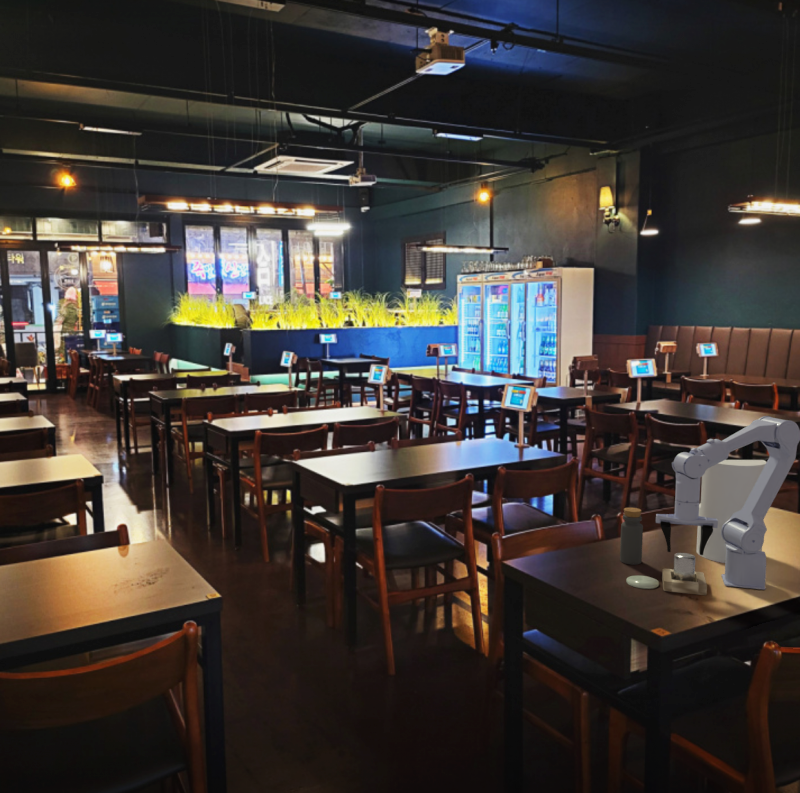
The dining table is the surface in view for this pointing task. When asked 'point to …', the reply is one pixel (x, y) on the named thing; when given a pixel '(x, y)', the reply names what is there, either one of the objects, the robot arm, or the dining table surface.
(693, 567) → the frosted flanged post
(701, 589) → the collar
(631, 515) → the bottle
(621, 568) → the dining table surface
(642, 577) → the coaster
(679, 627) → the dining table surface
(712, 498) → the cylinder
